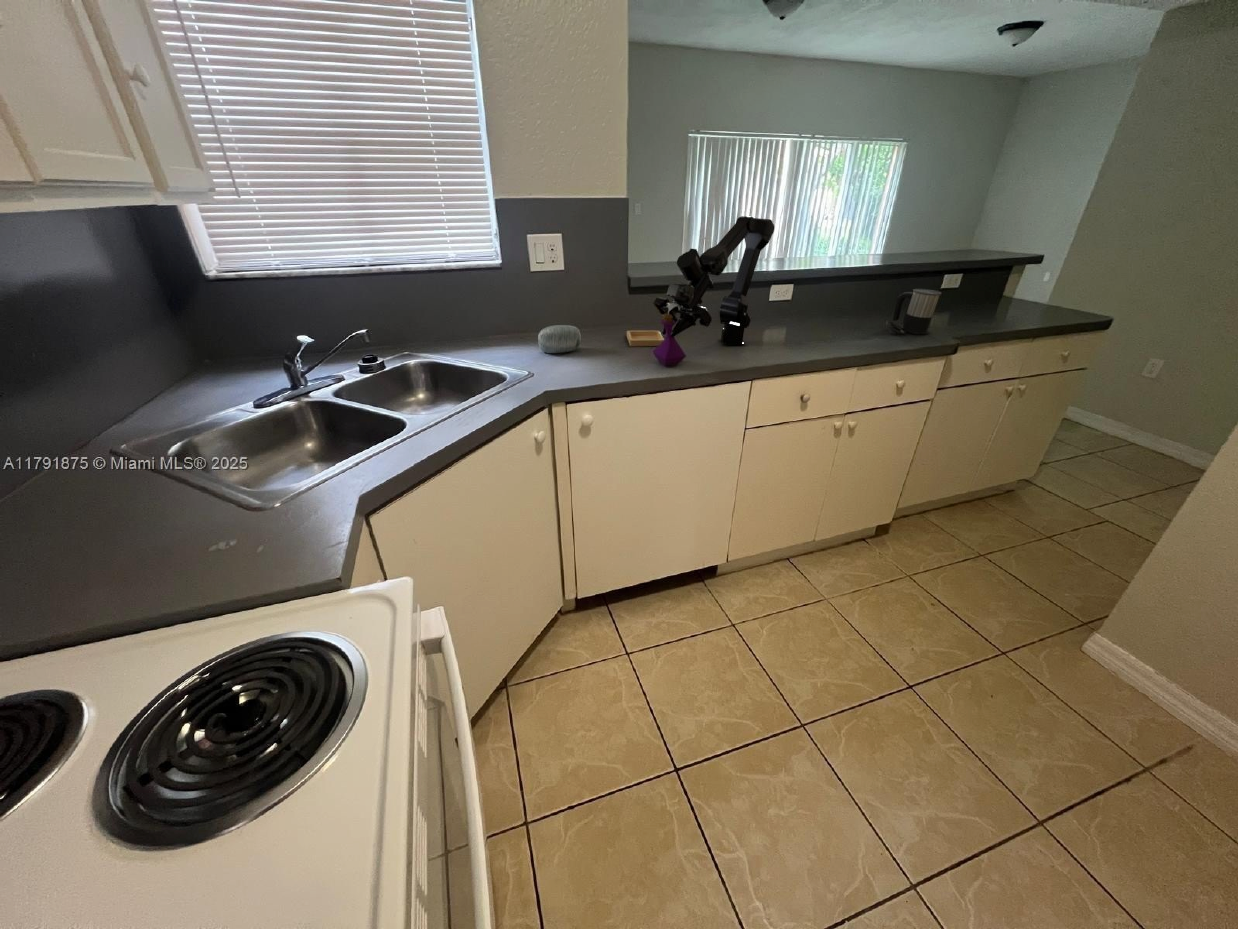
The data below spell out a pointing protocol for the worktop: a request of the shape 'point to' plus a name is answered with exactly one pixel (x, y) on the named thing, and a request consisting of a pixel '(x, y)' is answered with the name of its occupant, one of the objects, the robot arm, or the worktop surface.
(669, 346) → the perfume bottle
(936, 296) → the milk frother
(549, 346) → the grey rounded pouf
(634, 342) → the wooden tray
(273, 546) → the worktop surface
